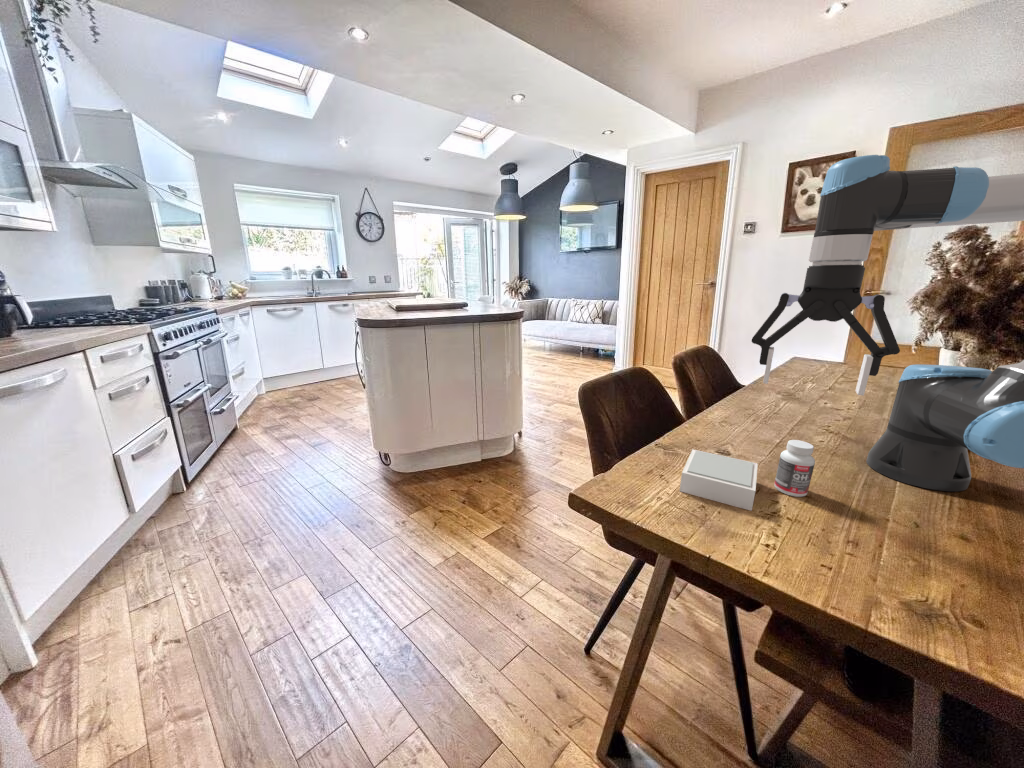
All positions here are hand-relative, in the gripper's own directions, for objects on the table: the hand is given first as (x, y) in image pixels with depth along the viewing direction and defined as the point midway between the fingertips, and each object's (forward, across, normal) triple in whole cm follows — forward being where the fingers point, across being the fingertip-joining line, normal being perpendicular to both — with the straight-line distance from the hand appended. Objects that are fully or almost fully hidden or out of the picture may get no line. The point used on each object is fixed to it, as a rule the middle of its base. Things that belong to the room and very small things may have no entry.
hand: (810, 387), depth 70 cm
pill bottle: (+21, 0, 0) cm, 21 cm away
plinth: (+20, +12, +6) cm, 24 cm away
